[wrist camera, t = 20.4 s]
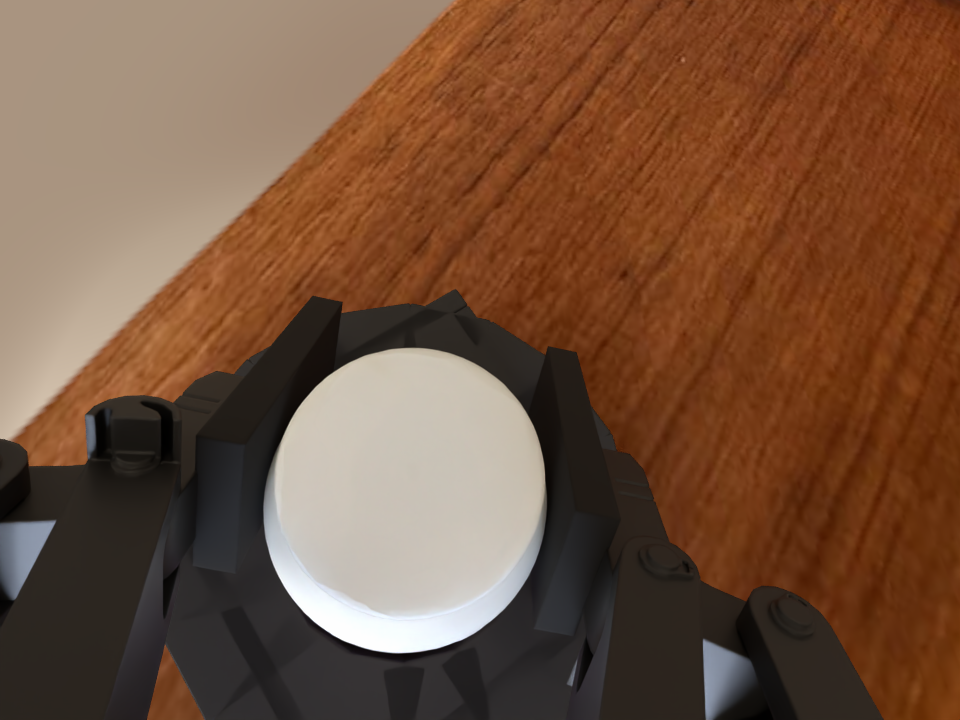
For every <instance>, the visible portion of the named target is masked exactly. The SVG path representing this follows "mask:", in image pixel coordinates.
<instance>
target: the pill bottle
mask: <svg viewBox="0 0 960 720" xmlns="http://www.w3.org/2000/svg"><path fill="white" fill-rule="evenodd" d="M263 511H264V528H265V537H266V542H267V545H268V549H269V553H270V557H271V560H272V562H273V565H274V567H275V570H276V572H277V574H278V576H279V578H280V580H281V581H282V583H283V585H284V587H285V588H286V590H287V592H288V593H289V595H290V596H291V597H292V599H293V600H294V601H295V602H296V604H297V605H298V606H299V607H300V608H301V609H302V611H303V612H304V613H305V614H306V615H307V616H309V617H310V618H311V619H312V620H313V621H314V622H315V623H316V624H318V625H319V626H320V627H322V628H323V629H324V630H326V631H328V632H329V633H331V634H332V635H334V636H335V637H337V638H339V639H341V640H343V641H345V642H348V643H351V644H354V645H356V646H359V647H362V648H366V649H370V650H374V651H381V652H389V653H411V652H421V651H427V650H431V649H437V648H440V647H443V646H446V645H449V644H452V643H454V642H457V641H461V640H463V639H465V638H467V637H469V636H470V635H472V634H474V633H476V632H477V631H479V630H480V629H481V628H483V627H484V626H485V625H486V624H487V623H489V622H490V621H492V620H493V619H494V618H495V617H496V616H497V615H498V614H499V613H500V612H502V611H503V610H504V609H505V608H506V606H507V605H508V604H509V603H510V602H511V601H512V600H513V598H514V597H515V596H516V594H517V593H518V592H519V590H520V589H521V587H522V586H523V584H524V583H525V581H526V579H527V578H528V576H529V574H530V572H531V570H532V568H533V566H534V564H535V561H536V559H537V556H538V553H539V550H540V547H541V544H542V540H543V535H544V530H545V523H546V515H547V492H546V483H545V468H544V461H543V455H542V451H541V447H540V443H539V440H538V437H537V434H536V431H535V429H534V426H533V424H532V422H531V420H530V418H529V417H528V415H527V413H526V411H525V410H524V408H523V407H522V405H521V403H520V402H519V401H518V400H517V398H516V397H515V396H514V395H513V394H512V393H511V392H510V391H509V389H508V388H507V387H506V386H505V385H504V384H503V383H502V382H501V381H500V380H498V379H497V378H496V377H495V376H493V375H492V374H490V373H489V372H487V371H486V370H485V369H483V368H482V367H480V366H478V365H476V364H475V363H473V362H470V361H468V360H466V359H464V358H462V357H459V356H456V355H453V354H451V353H447V352H443V351H438V350H432V349H424V348H401V349H390V350H386V351H382V352H378V353H373V354H369V355H366V356H363V357H361V358H358V359H356V360H354V361H352V362H350V363H348V364H346V365H344V366H343V367H341V368H340V369H338V370H336V371H335V372H333V373H332V374H330V375H329V376H328V377H326V378H325V379H324V380H323V381H322V382H321V383H320V384H319V385H317V386H316V387H315V388H314V390H313V391H312V392H311V393H310V394H309V395H308V396H307V397H306V399H305V400H304V401H303V402H302V403H301V405H300V406H299V408H298V409H297V411H296V412H295V414H294V416H293V417H292V419H291V421H290V422H289V425H288V427H287V429H286V431H285V433H284V436H283V438H282V440H281V442H280V444H279V446H278V448H277V450H276V453H275V455H274V457H273V460H272V463H271V466H270V469H269V472H268V476H267V481H266V486H265V492H264V504H263Z"/></svg>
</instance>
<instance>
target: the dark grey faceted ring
mask: <svg viewBox="0 0 960 720" xmlns="http://www.w3.org/2000/svg"><path fill="white" fill-rule="evenodd" d="M268 348H269V347H268ZM268 348H266V349H264V350H263V351H261V352H259V353H257V354H255V355H253V356H252V357H250V358H249V360H248V359H247V360H246V361H245V362H244V363H243V364H242V365H241V367H240V368H239V369H238V370H237V371H236V372H235V374H234V375H239V376H243V377H245V376H246V375H247V373H248V372H249V371H250V370H251V369H252V368H253V366H254V365H255V364H256V363H257V362H258V360H259V359H260V358H261V357H262V356H263V354H264V353H265V352H266V351H267V350H268ZM401 348H424V349H432V350H438V351H443V352H447V353H451V354H453V355H456V356H459V357H462V358H464V359H466V360H468V361H470V362H473V363H475V364H476V365H478V366H480V367H482V368H483V369H485V370H486V371H487V372H489V373H490V374H492V375H493V376H495V377H496V378H497V379H498V380H500V381H501V382H502V383H503V384H504V385H505V386H506V387H507V388H508V389H509V391H510V392H511V393H512V394H513V395H514V396H515V397H516V398H517V400H518V401H519V402H520V403H521V405H522V407H523V408H524V410H525V411H526V413H527V415H528V413H529V410H530V407H531V403H532V400H533V396H534V393H535V389H536V386H537V383H538V379H539V376H540V372H541V369H542V366H543V362H544V359H545V355H544V354H542V353H540V352H539V351H537V350H536V349H534V348H533V347H531V346H530V345H528V344H527V343H525V342H523V341H522V340H520V339H519V338H517V337H516V336H514V335H513V334H511V333H509V332H508V331H506V330H505V329H503V328H502V327H500V326H499V325H497V324H495V323H494V322H490V321H489V320H486V319H481V318H477V317H476V316H475V314H474V313H473V311H472V310H471V309H470V307H468V306H467V303H466V302H465V301H464V299H463V298H462V296H461V295H460V294H459V292H458V291H457V290H456V289H455V290H453V291H451V292H449V293H447V294H446V295H444V296H442V297H440V298H439V299H437V300H435V301H433V302H432V303H430V304H428V305H426V306H421V305H416V304H411V305H410V304H401V305H394V306H387V307H380V308H373V309H366V310H360V311H353V312H346V313H341V318H340V326H339V334H338V341H337V349H336V357H335V364H334V372H335V371H336V370H338V369H340V368H341V367H343V366H344V365H346V364H348V363H350V362H352V361H354V360H356V359H358V358H361V357H363V356H366V355H369V354H373V353H378V352H382V351H386V350H390V349H401ZM591 408H592V407H591ZM592 412H593V416H594V420H595V423H596V427H597V431H598V435H599V438H600V442H601V446H602V448H603V449H608V450H613V451H617V450H616V446H615V443H614V439H613V436H612V434H611V433H610V431H609V430H608V428H607V427H606V425H605V424H604V423H603V421H602V420H601V419H600V417H599V416H598V415H597V413H596V412H595V411H594V409H593V408H592ZM192 564H193V543H192V545H191V546H190V548H189V550H188V551H187V553H186V554H185V556H184V557H183V559H182V560H181V562H180V583H179V587H178V591H177V596H176V600H175V604H174V608H173V612H172V616H171V621H170V625H169V629H168V633H167V637H166V641H165V644H166V646H167V648H168V650H169V652H170V654H171V656H172V658H173V660H174V662H175V664H176V665H177V667H178V669H179V671H180V673H181V675H182V677H183V679H184V681H185V683H186V685H187V686H188V688H189V690H190V692H191V694H192V696H193V698H194V700H195V702H196V704H197V706H198V708H199V709H200V711H201V713H202V715H203V717H204V719H205V720H566V717H567V712H568V707H569V701H570V696H571V691H572V686H570V685H568V684H567V681H568V679H569V676H570V674H571V671H572V669H573V667H574V664H575V662H576V659H577V657H578V655H579V652H580V650H581V647H582V645H583V642H584V640H585V638H586V628H585V622H584V615H583V616H582V618H581V621H580V623H579V626H578V628H577V631H576V633H575V636H570V635H564V634H559V633H554V632H548V631H543V630H537V629H534V628H533V610H532V593H531V576H530V574H529V576H528V578H527V579H526V581H525V583H524V584H523V586H522V587H521V589H520V590H519V592H518V593H517V594H516V596H515V597H514V598H513V600H512V601H511V602H510V603H509V604H508V605H507V606H506V608H505V609H504V610H503V611H502V612H500V613H499V614H498V615H497V616H496V617H495V618H494V619H493V620H492V621H490V622H489V623H487V624H486V625H485V626H484V627H483V628H481V629H480V630H479V631H477V632H476V633H474V634H472V635H470V636H469V637H467V638H465V639H463V640H461V641H457V642H454V643H452V644H449V645H446V646H443V647H440V648H437V649H431V650H427V651H421V652H411V653H389V652H381V651H374V650H370V649H366V648H362V647H359V646H356V645H354V644H351V643H348V642H345V641H343V640H341V639H339V638H337V637H335V636H334V635H332V634H331V633H329V632H328V631H326V630H324V629H323V628H322V627H320V626H319V625H318V624H316V623H315V622H314V621H313V620H312V619H311V618H310V617H309V616H307V615H306V614H305V613H304V612H303V611H302V609H301V608H300V607H299V606H298V605H297V604H296V602H295V601H294V600H293V599H292V597H291V596H290V595H289V593H288V592H287V590H286V588H285V587H284V585H283V583H282V581H281V580H280V578H279V576H278V574H277V572H276V570H275V567H274V565H273V562H272V560H271V557H270V553H269V549H268V545H267V542H266V537H265V528H264V522H263V524H262V526H261V528H260V530H259V532H258V534H257V535H256V537H255V539H254V541H253V543H252V545H251V547H250V549H249V551H248V553H247V554H246V556H245V558H244V560H243V562H242V564H241V566H240V568H239V570H238V572H237V573H236V574H234V573H228V572H223V571H217V570H212V569H207V568H201V567H196V566H192Z"/></svg>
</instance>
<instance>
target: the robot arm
mask: <svg viewBox="0 0 960 720" xmlns="http://www.w3.org/2000/svg"><path fill="white" fill-rule="evenodd" d="M342 303H343V302H339V301H335V300H330V299H325V298H321V297H316V296H312V297H311V298H310V300H309V301H308V302H307V303H306V304H305V306H304V307H303V308H302V309H301V310H300V312H299V313H298V314H297V315H296V316H295V318H294V319H293V320H292V321H291V322H290V323H289V325H288V326H287V327H286V328H285V329H284V331H283V332H282V333H281V334H280V335H279V337H278V338H277V339H276V340H275V341H274V343H273V344H272V345H271V346H270V347H269V348H268V350H267V351H266V352H265V353H264V354H263V356H262V357H261V358H260V359H259V360H258V362H257V363H256V364H255V365H254V366H253V368H252V369H251V370H250V371H249V372H248V373H247V375H246V376H245V377H243V376H239V375H234V374H229V373H224V372H219V371H215V372H213V373H211V374H209V375H206V376H204V377H202V378H199V379H197V380H195V381H194V382H193V383H192V384H191V385H190V386H189V387H188V388H187V389H186V390H185V391H184V392H183V395H182V396H179V397H178V398H177V399H176V401H175V402H174V403H172V402H169V401H167V400H165V399H162V398H158V397H152V396H145V395H140V396H123V397H119V398H114V399H109V400H107V401H104V402H102V403H100V404H98V405H96V406H94V407H93V408H92V409H91V410H90V411H89V412H88V413H86V414H85V423H86V438H87V454H88V461H87V463H86V464H85V465H74V466H29V463H28V455H27V451H26V450H25V449H24V448H23V447H22V446H20V445H19V444H17V443H14V442H11V441H8V440H5V439H0V720H147V716H148V712H149V708H150V704H151V700H152V695H153V691H154V687H155V683H156V679H157V675H158V670H159V666H160V662H161V658H162V654H163V650H164V645H165V641H166V637H167V633H168V629H169V625H170V621H171V616H172V612H173V608H174V604H175V600H176V596H177V591H178V587H179V583H180V562H181V560H182V559H183V557H184V556H185V554H186V553H187V551H188V550H189V548H190V546H191V545H192V543H193V564H192V566H196V567H201V568H207V569H212V570H217V571H223V572H228V573H234V574H236V573H237V572H238V570H239V568H240V566H241V564H242V562H243V560H244V558H245V556H246V554H247V553H248V551H249V549H250V547H251V545H252V543H253V541H254V539H255V537H256V535H257V534H258V532H259V530H260V528H261V526H262V524H263V522H264V511H263V504H264V492H265V486H266V481H267V476H268V472H269V469H270V466H271V463H272V460H273V457H274V455H275V453H276V450H277V448H278V446H279V444H280V442H281V440H282V438H283V436H284V433H285V431H286V429H287V427H288V425H289V422H290V421H291V419H292V417H293V416H294V414H295V412H296V411H297V409H298V408H299V406H300V405H301V403H302V402H303V401H304V400H305V399H306V397H307V396H308V395H309V394H310V393H311V392H312V391H313V390H314V388H315V387H316V386H317V385H319V384H320V383H321V382H322V381H323V380H324V379H325V378H326V377H328V376H329V375H330V374H332V373H333V372H334V364H335V357H336V349H337V341H338V334H339V326H340V318H341V311H342ZM528 417H529V418H530V420H531V422H532V424H533V426H534V429H535V431H536V434H537V437H538V440H539V443H540V447H541V451H542V455H543V461H544V468H545V483H546V492H547V515H546V523H545V530H544V535H543V540H542V544H541V547H540V550H539V553H538V556H537V559H536V561H535V564H534V566H533V568H532V570H531V572H530V576H531V593H532V610H533V628H534V629H537V630H543V631H548V632H554V633H559V634H564V635H570V636H575V633H576V631H577V628H578V626H579V623H580V621H581V618H582V616H583V615H584V622H585V628H586V638H585V640H584V642H583V645H582V647H581V650H580V652H579V655H578V657H577V659H576V662H575V664H574V667H573V669H572V671H571V674H570V676H569V679H568V681H567V684H568V685H570V686H572V691H571V696H570V701H569V707H568V712H567V717H566V720H884V719H883V718H882V716H881V714H880V712H879V711H878V709H877V707H876V705H875V704H874V702H873V700H872V698H871V696H870V695H869V693H868V691H867V689H866V688H865V686H864V684H863V682H862V680H861V679H860V677H859V675H858V673H857V672H856V670H855V668H854V666H853V664H852V663H851V661H850V659H849V657H848V656H847V654H846V652H845V650H844V648H843V647H842V645H841V643H840V641H839V640H838V638H837V636H836V634H835V633H834V631H833V629H832V627H831V626H830V624H829V623H828V622H827V620H826V619H825V618H824V616H823V615H822V614H821V613H820V612H819V611H818V610H817V609H815V608H814V607H813V606H812V605H811V604H810V603H809V602H807V601H806V600H804V599H803V598H801V597H799V596H798V595H796V594H794V593H792V592H790V591H787V590H784V589H781V588H778V587H773V586H761V587H758V588H756V589H753V591H752V592H751V594H750V596H749V598H748V600H747V601H743V600H741V599H739V598H736V597H734V596H732V595H729V594H727V593H725V592H723V591H720V590H718V589H716V588H714V587H712V586H710V585H708V584H706V583H704V582H702V581H701V580H700V575H699V572H698V569H697V566H696V565H695V564H694V562H693V561H692V560H691V558H690V557H689V556H688V555H687V554H686V553H685V552H683V551H682V550H681V549H680V548H678V547H677V546H676V545H674V544H672V543H670V542H669V540H668V537H667V534H666V531H665V528H664V526H663V523H662V520H661V517H660V514H659V512H658V509H657V506H656V503H655V502H654V501H653V499H654V498H653V495H652V492H651V489H650V488H649V484H648V481H647V478H646V475H645V472H644V470H643V468H642V467H641V466H640V465H639V464H638V463H637V462H636V461H635V460H634V458H633V457H632V456H631V455H630V454H627V453H622V452H618V451H613V450H608V449H603V448H602V446H601V442H600V438H599V435H598V431H597V427H596V423H595V420H594V416H593V412H592V408H591V405H590V401H589V397H588V393H587V390H586V386H585V382H584V378H583V375H582V371H581V367H580V364H579V360H578V356H577V352H572V351H568V350H563V349H558V348H554V347H549V346H548V348H547V352H546V355H545V359H544V362H543V366H542V369H541V372H540V376H539V379H538V383H537V386H536V389H535V393H534V396H533V400H532V403H531V407H530V410H529V413H528Z"/></svg>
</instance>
